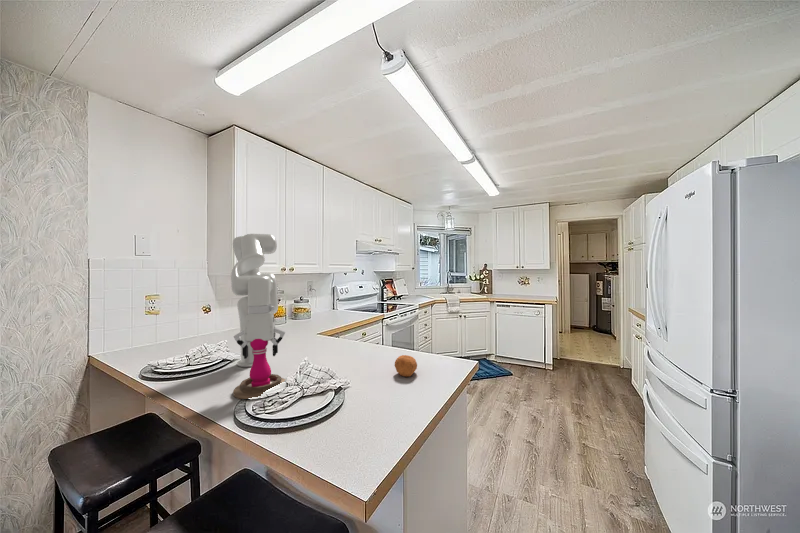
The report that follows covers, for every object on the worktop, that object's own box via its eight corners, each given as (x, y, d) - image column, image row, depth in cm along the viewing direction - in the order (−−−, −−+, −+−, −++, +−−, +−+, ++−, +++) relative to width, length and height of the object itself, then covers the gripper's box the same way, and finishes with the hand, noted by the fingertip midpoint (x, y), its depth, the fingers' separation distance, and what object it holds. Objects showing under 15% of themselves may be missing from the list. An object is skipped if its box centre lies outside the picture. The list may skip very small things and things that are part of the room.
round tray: (241, 382, 117) (241, 374, 117) (290, 377, 121) (290, 370, 121) (226, 403, 100) (225, 393, 100) (283, 396, 104) (283, 387, 104)
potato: (390, 377, 120) (389, 358, 120) (400, 368, 130) (400, 350, 130) (412, 380, 116) (411, 360, 116) (420, 370, 127) (420, 352, 127)
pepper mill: (263, 389, 106) (261, 333, 106) (245, 388, 108) (243, 333, 108) (275, 381, 113) (273, 329, 113) (258, 381, 115) (256, 328, 115)
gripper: (285, 307, 116) (286, 351, 116) (236, 309, 112) (237, 355, 112) (282, 310, 109) (284, 357, 109) (230, 312, 105) (231, 361, 105)
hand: (260, 356), depth 110 cm, fingers open, 9 cm apart
